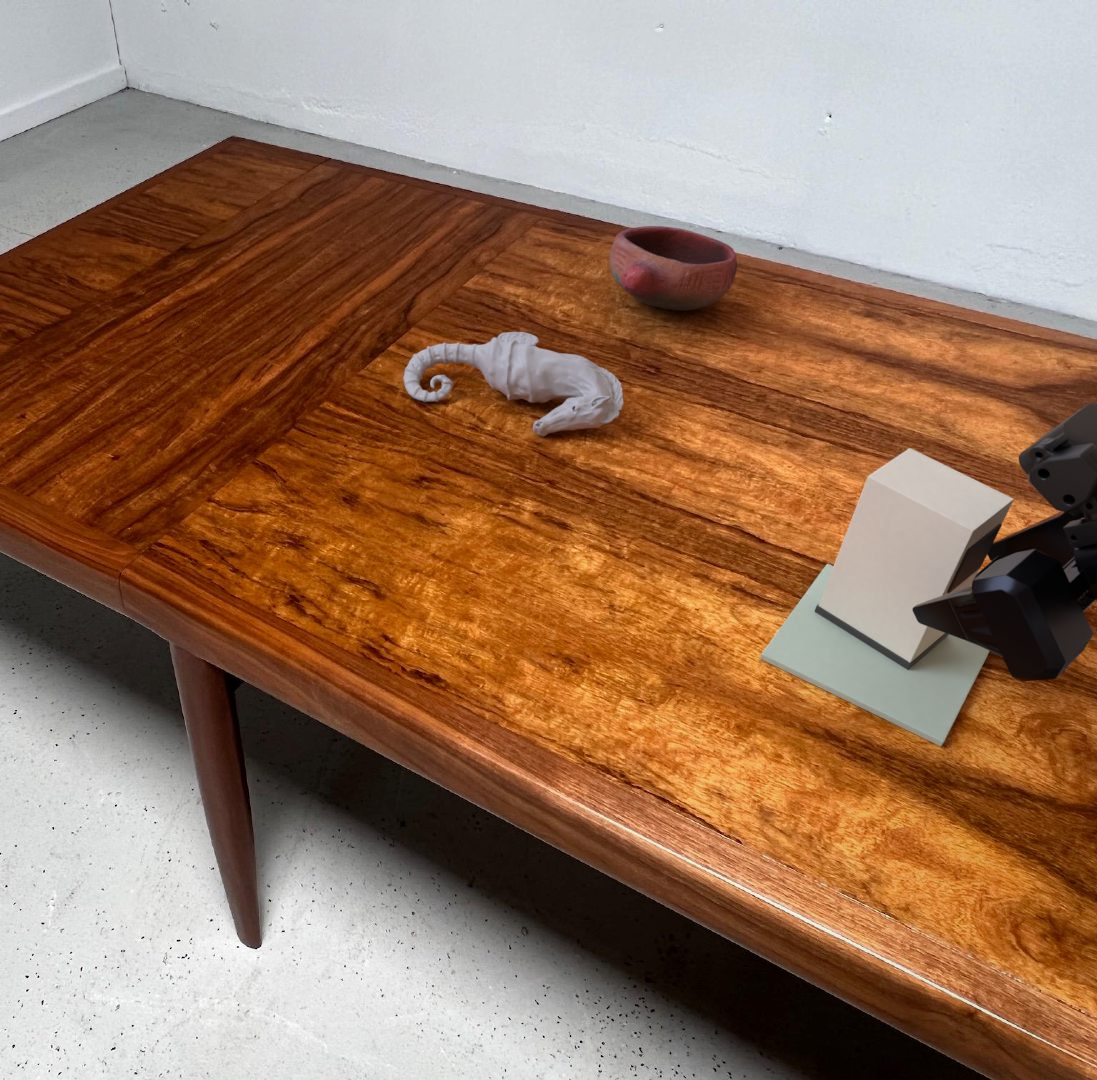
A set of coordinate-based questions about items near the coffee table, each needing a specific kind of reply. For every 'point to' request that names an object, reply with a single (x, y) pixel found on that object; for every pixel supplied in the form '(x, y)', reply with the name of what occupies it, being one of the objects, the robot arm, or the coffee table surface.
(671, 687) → the coffee table surface
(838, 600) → the white tilted block
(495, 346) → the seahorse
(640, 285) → the bowl
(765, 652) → the mat
